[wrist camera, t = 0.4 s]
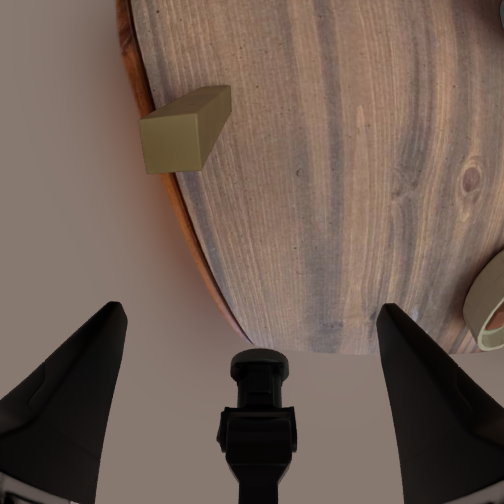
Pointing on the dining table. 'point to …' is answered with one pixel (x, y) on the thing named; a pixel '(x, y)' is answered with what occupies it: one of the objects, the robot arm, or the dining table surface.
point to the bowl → (486, 304)
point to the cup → (502, 13)
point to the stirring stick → (184, 130)
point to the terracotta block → (496, 318)
